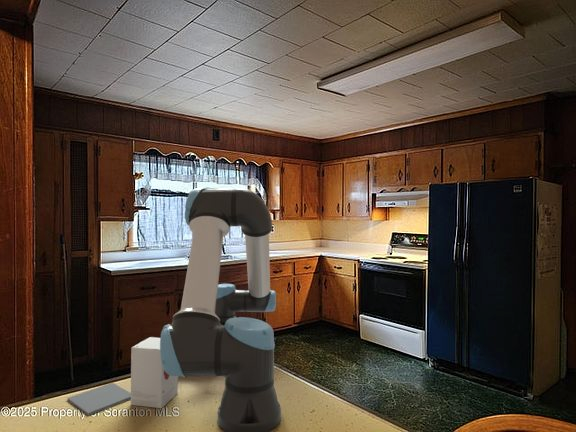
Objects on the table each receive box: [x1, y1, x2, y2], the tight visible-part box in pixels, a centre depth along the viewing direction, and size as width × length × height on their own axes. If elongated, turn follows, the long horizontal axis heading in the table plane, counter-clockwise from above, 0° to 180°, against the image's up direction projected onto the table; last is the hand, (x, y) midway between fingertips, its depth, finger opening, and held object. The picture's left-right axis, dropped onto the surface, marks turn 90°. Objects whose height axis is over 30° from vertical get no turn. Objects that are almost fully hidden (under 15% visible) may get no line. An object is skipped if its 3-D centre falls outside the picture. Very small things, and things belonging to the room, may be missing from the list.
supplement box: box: [130, 336, 179, 409], centre depth 103 cm, size 9×9×15 cm
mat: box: [67, 382, 131, 416], centre depth 103 cm, size 12×12×1 cm
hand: (171, 359), depth 110 cm, fingers open, 13 cm apart
